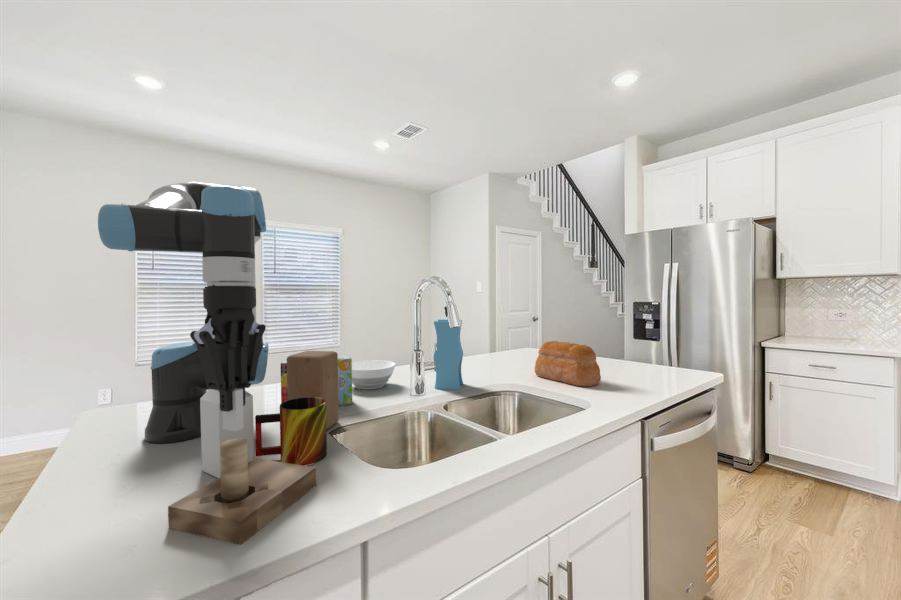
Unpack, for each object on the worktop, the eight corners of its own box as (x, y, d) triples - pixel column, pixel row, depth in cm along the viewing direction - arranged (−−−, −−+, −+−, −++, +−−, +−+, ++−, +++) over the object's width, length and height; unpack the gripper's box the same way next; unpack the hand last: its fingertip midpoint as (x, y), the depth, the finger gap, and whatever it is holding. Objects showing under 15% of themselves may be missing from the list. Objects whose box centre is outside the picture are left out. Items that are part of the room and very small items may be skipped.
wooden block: (321, 435, 101) (320, 357, 100) (286, 432, 103) (284, 355, 102) (340, 422, 111) (339, 350, 110) (307, 419, 113) (306, 349, 112)
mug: (254, 460, 86) (253, 405, 86) (317, 444, 95) (316, 394, 94) (266, 477, 79) (265, 417, 78) (333, 457, 87) (332, 404, 87)
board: (168, 528, 62) (168, 506, 62) (256, 475, 79) (255, 458, 79) (240, 544, 58) (240, 521, 58) (316, 485, 75) (316, 467, 75)
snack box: (351, 400, 132) (350, 355, 132) (352, 405, 127) (351, 358, 126) (282, 406, 125) (281, 359, 125) (280, 412, 120) (279, 362, 120)
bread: (583, 389, 145) (583, 348, 144) (530, 376, 166) (530, 340, 166) (605, 384, 152) (605, 344, 152) (552, 372, 174) (552, 337, 174)
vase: (438, 382, 156) (437, 319, 155) (463, 383, 154) (462, 319, 153) (433, 389, 146) (433, 321, 145) (460, 389, 144) (460, 321, 144)
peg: (215, 519, 64) (213, 446, 64) (235, 506, 68) (234, 437, 68) (235, 523, 63) (233, 449, 63) (254, 509, 67) (253, 439, 67)
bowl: (391, 393, 141) (391, 370, 141) (336, 393, 141) (336, 370, 141) (399, 380, 160) (398, 359, 160) (351, 380, 161) (351, 360, 160)
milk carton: (220, 480, 77) (217, 383, 77) (201, 471, 81) (199, 379, 81) (254, 466, 83) (252, 376, 83) (235, 458, 87) (233, 372, 87)
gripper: (213, 284, 57) (217, 446, 58) (277, 284, 69) (280, 418, 70) (174, 284, 59) (178, 440, 60) (243, 285, 72) (246, 414, 72)
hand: (233, 428), depth 65 cm, fingers closed
